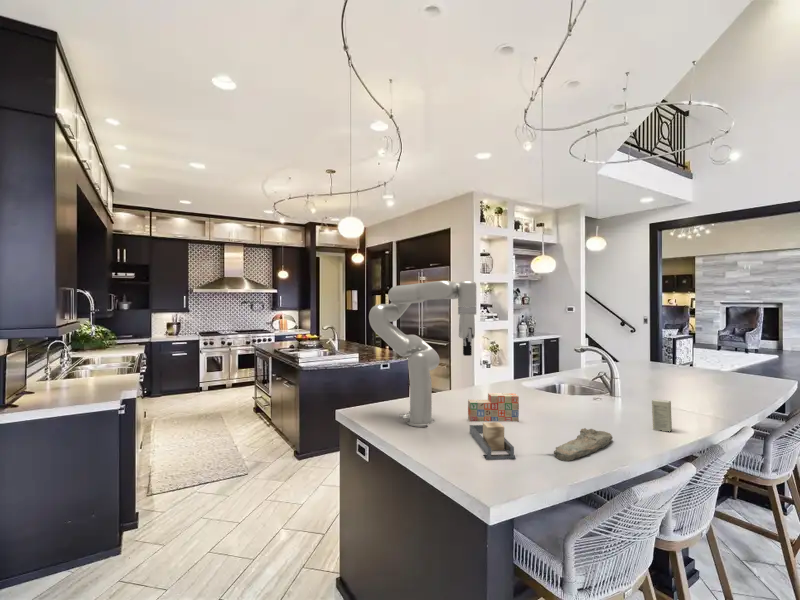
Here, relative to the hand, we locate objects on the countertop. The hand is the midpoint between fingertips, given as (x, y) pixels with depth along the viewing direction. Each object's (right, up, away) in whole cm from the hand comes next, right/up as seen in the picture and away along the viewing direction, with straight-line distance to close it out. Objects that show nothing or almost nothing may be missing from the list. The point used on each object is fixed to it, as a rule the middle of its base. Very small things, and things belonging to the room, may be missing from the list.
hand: (467, 355), depth 170 cm
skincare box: (+81, -31, +1) cm, 87 cm away
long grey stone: (+39, -31, -21) cm, 54 cm away
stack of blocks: (+14, -32, +13) cm, 37 cm away
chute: (+5, -31, -19) cm, 37 cm away
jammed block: (+6, -30, -24) cm, 38 cm away
